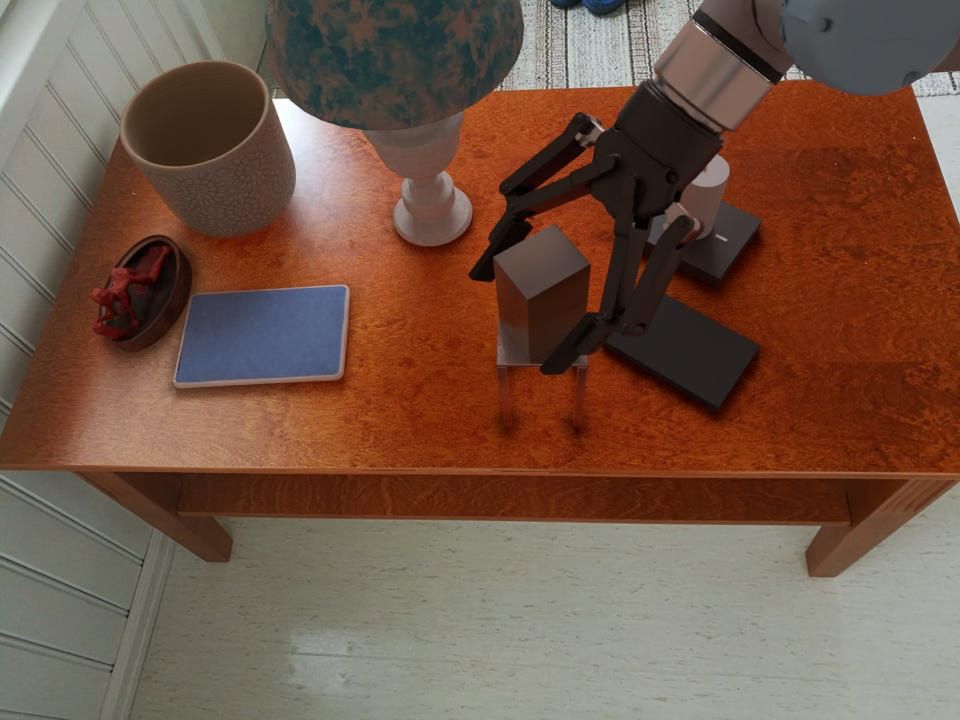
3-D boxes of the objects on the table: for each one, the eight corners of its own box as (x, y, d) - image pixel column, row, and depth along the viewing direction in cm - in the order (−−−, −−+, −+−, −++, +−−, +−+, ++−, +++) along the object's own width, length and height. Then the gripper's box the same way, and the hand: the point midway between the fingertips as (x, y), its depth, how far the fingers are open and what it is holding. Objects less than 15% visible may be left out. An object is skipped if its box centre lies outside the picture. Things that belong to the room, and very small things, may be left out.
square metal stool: (579, 360, 81) (585, 288, 68) (580, 427, 77) (587, 364, 65) (506, 359, 81) (499, 289, 69) (504, 426, 78) (496, 364, 65)
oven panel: (758, 230, 87) (763, 218, 85) (715, 289, 84) (720, 278, 82) (661, 183, 91) (664, 171, 90) (617, 237, 88) (619, 226, 86)
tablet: (174, 391, 83) (169, 386, 82) (193, 297, 89) (189, 291, 88) (344, 383, 82) (341, 377, 80) (352, 288, 88) (349, 281, 86)
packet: (499, 322, 67) (492, 256, 59) (553, 291, 69) (555, 222, 60) (529, 362, 65) (527, 300, 56) (585, 329, 66) (591, 264, 58)
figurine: (192, 348, 85) (111, 312, 77) (135, 370, 89) (52, 339, 81) (203, 240, 92) (129, 196, 83) (149, 265, 96) (73, 226, 87)
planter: (297, 254, 90) (254, 167, 77) (165, 257, 92) (100, 171, 78) (316, 152, 98) (280, 56, 85) (194, 155, 100) (140, 62, 86)
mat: (757, 350, 80) (760, 345, 78) (716, 412, 76) (718, 408, 75) (645, 289, 84) (646, 283, 83) (601, 345, 81) (602, 340, 80)
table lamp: (365, 138, 99) (268, -202, 64) (542, 153, 95) (541, -199, 60) (315, 285, 88) (164, -28, 53) (511, 308, 84) (489, -11, 49)
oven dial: (720, 218, 86) (739, 161, 78) (699, 247, 84) (716, 192, 76) (681, 200, 87) (696, 142, 79) (660, 228, 86) (672, 172, 78)
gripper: (822, 216, 51) (617, 422, 61) (618, 35, 61) (473, 239, 71) (784, 200, 45) (566, 430, 56) (567, 3, 55) (417, 230, 66)
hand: (513, 323), depth 64 cm, fingers open, 11 cm apart
